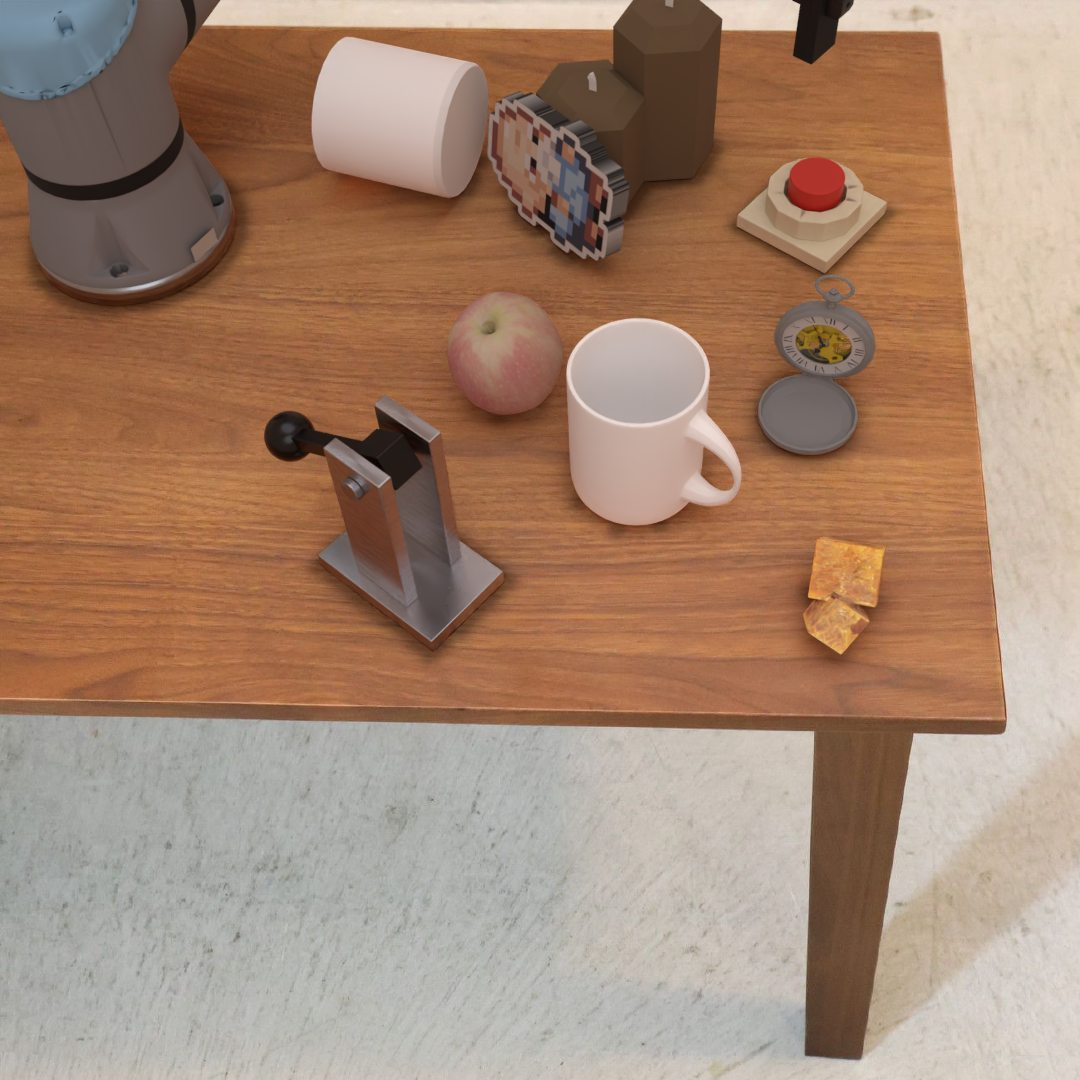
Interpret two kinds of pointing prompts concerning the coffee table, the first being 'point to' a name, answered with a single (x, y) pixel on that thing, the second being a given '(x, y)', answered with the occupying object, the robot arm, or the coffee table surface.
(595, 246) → the toy
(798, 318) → the pocket watch
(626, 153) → the candle
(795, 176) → the button
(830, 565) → the pyrite
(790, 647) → the coffee table surface
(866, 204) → the housing
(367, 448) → the lever
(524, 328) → the apple
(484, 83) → the white cylinder
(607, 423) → the mug
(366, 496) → the bracket
